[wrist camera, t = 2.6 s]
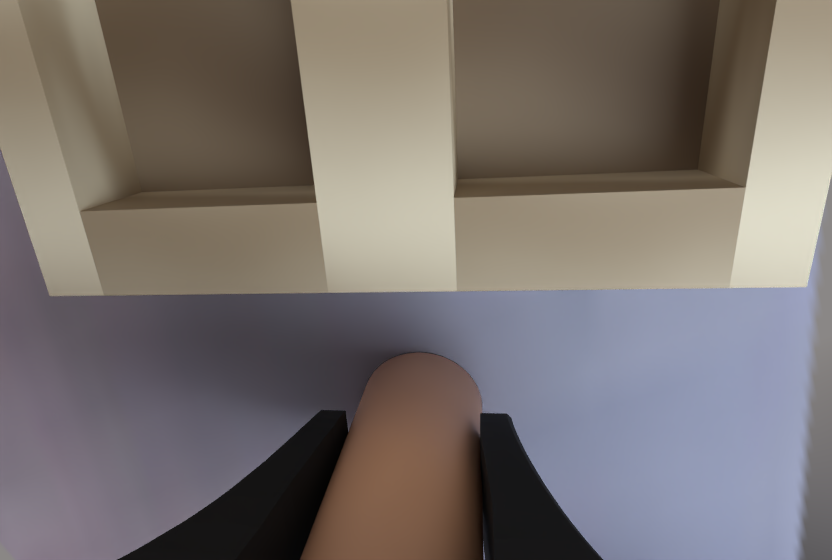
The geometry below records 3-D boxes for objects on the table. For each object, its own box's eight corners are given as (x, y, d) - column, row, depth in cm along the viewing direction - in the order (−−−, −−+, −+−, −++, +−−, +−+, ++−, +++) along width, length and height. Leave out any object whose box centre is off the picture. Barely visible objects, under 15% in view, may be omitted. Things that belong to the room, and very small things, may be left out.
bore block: (725, 237, 11) (806, 286, 8) (141, 251, 13) (49, 295, 10) (798, -226, 8) (955, -382, 6) (44, -126, 10) (-118, -208, 7)
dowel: (482, 455, 14) (485, 771, 8) (369, 451, 14) (280, 749, 8) (480, 352, 13) (482, 620, 6) (358, 352, 13) (243, 602, 7)
